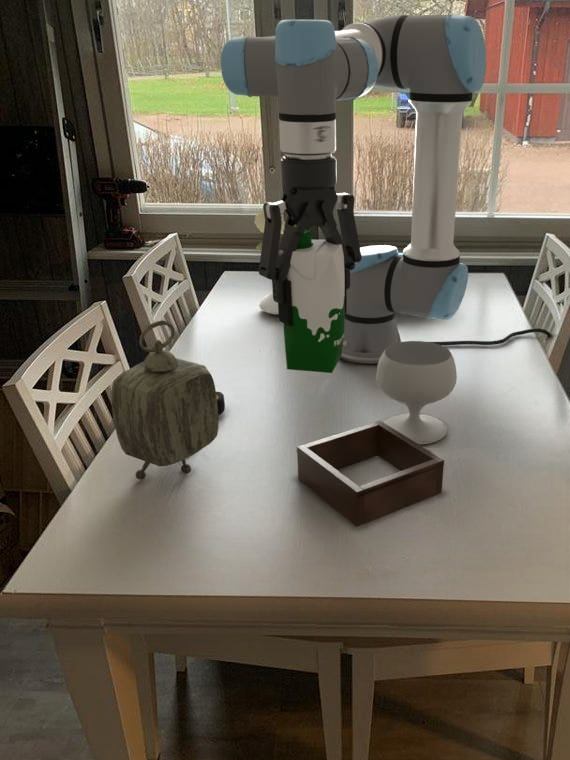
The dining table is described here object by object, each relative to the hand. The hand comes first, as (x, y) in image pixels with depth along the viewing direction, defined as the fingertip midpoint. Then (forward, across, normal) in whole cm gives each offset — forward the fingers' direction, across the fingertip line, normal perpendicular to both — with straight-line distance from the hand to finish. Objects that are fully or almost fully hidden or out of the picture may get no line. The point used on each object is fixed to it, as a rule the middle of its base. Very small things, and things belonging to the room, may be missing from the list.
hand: (313, 316), depth 110 cm
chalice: (+25, +20, -1) cm, 32 cm away
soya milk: (+8, 0, 0) cm, 8 cm away
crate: (+25, +2, -12) cm, 28 cm away
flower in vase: (+26, +36, +72) cm, 84 cm away
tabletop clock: (+25, -21, +11) cm, 34 cm away
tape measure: (+25, -7, +27) cm, 38 cm away
